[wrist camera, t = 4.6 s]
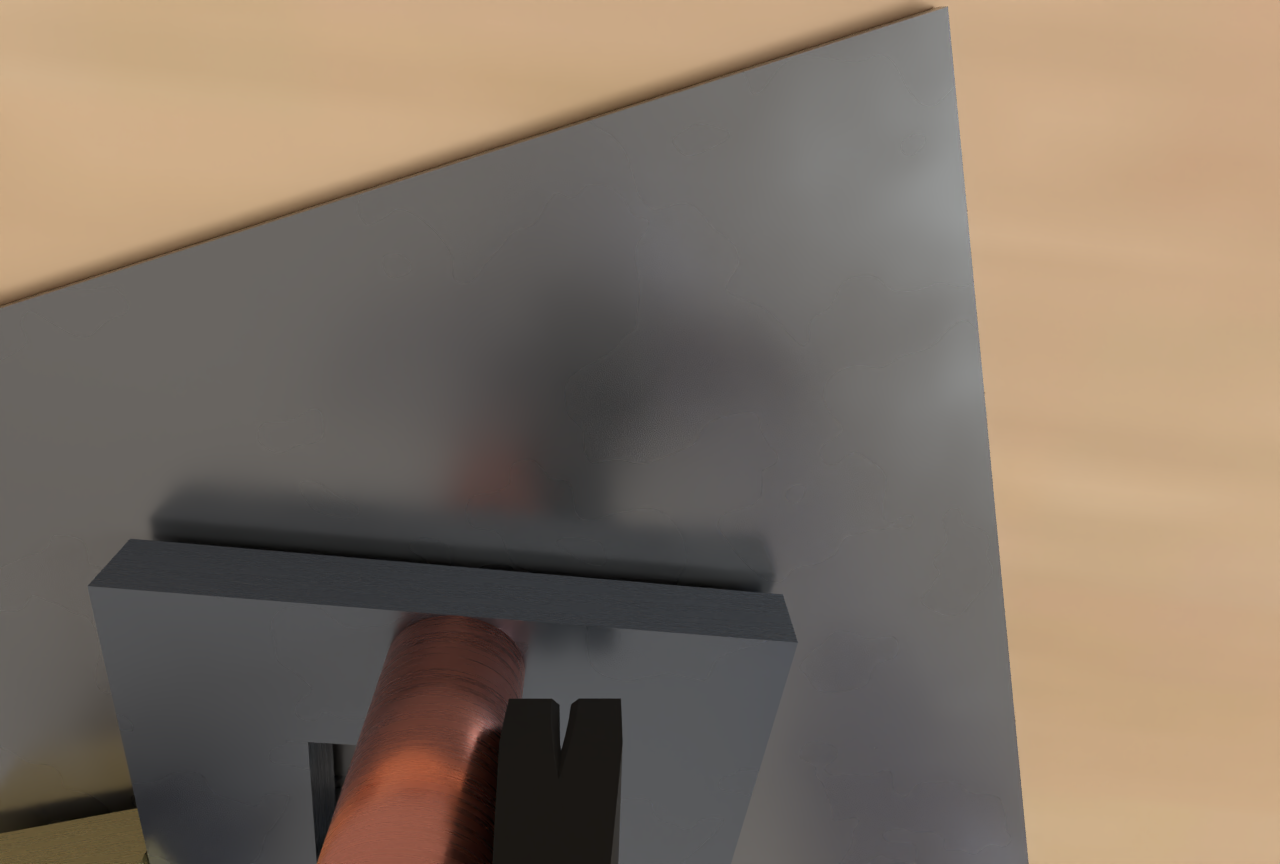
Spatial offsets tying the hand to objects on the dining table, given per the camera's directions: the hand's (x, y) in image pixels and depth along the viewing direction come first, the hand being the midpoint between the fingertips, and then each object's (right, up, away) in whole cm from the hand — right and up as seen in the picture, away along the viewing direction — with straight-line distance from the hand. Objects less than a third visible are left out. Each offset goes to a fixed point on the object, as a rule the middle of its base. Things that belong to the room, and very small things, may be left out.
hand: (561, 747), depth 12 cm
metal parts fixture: (-5, -2, +4) cm, 7 cm away
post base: (-2, -2, +5) cm, 6 cm away
